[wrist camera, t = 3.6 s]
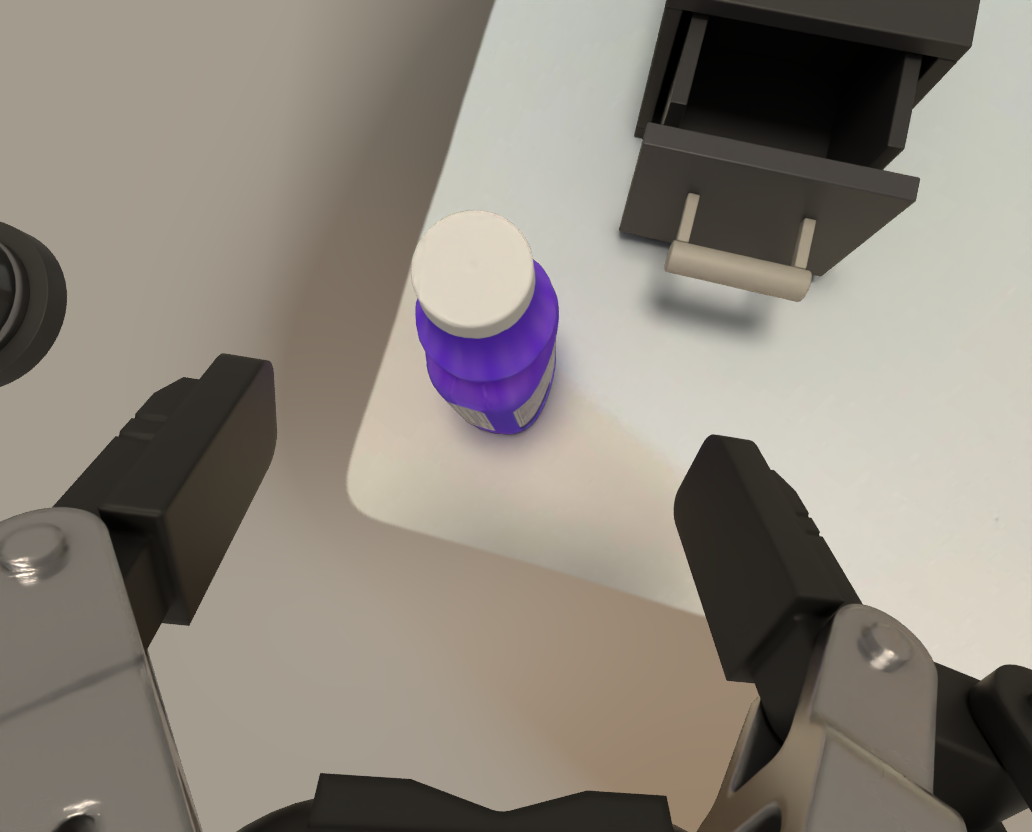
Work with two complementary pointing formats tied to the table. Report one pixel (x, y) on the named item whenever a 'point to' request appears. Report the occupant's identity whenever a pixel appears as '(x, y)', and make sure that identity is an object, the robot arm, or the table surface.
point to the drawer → (772, 154)
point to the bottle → (485, 320)
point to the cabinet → (826, 33)
